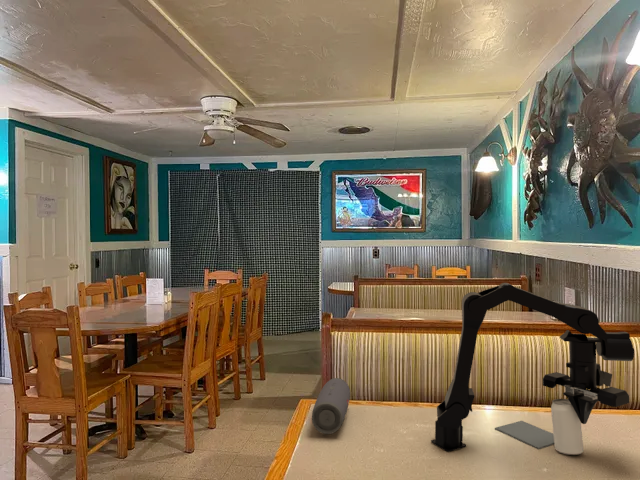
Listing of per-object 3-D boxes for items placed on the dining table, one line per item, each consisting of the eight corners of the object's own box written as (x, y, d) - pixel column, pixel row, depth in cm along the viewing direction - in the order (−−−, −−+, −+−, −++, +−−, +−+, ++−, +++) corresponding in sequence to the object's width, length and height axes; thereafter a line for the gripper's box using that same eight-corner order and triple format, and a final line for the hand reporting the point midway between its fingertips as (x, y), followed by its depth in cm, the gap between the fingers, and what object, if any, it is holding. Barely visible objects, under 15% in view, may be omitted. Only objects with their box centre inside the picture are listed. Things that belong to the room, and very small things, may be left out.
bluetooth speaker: (344, 440, 125) (344, 402, 125) (309, 437, 127) (309, 400, 126) (352, 408, 148) (352, 376, 147) (322, 407, 149) (322, 375, 149)
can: (576, 445, 122) (571, 397, 123) (588, 455, 115) (583, 404, 116) (550, 446, 122) (546, 398, 123) (561, 455, 116) (556, 405, 117)
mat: (538, 449, 120) (538, 447, 120) (494, 429, 132) (494, 427, 132) (566, 440, 125) (566, 439, 125) (521, 421, 137) (521, 420, 137)
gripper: (642, 363, 110) (643, 430, 111) (568, 347, 127) (569, 405, 127) (613, 370, 105) (615, 440, 105) (540, 353, 122) (541, 413, 122)
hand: (583, 423), depth 115 cm, fingers closed
